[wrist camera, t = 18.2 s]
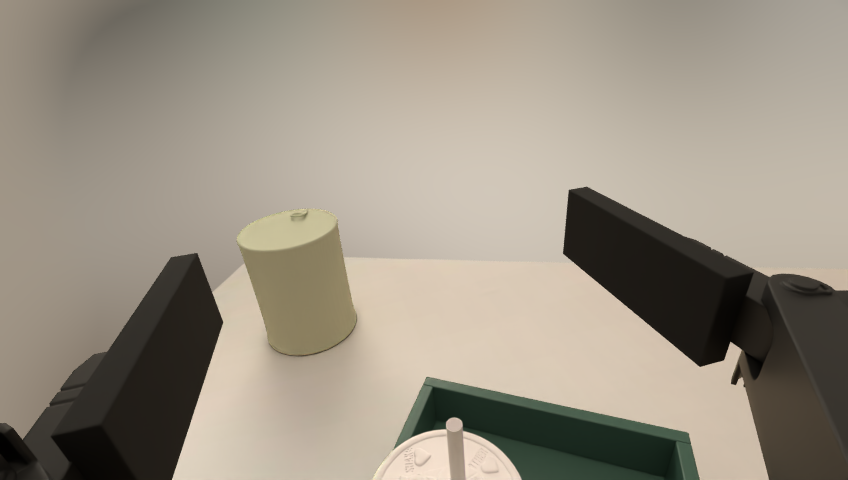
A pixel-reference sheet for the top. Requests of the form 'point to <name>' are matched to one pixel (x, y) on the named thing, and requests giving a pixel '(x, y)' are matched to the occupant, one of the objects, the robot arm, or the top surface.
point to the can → (299, 279)
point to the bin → (554, 436)
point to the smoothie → (447, 458)
